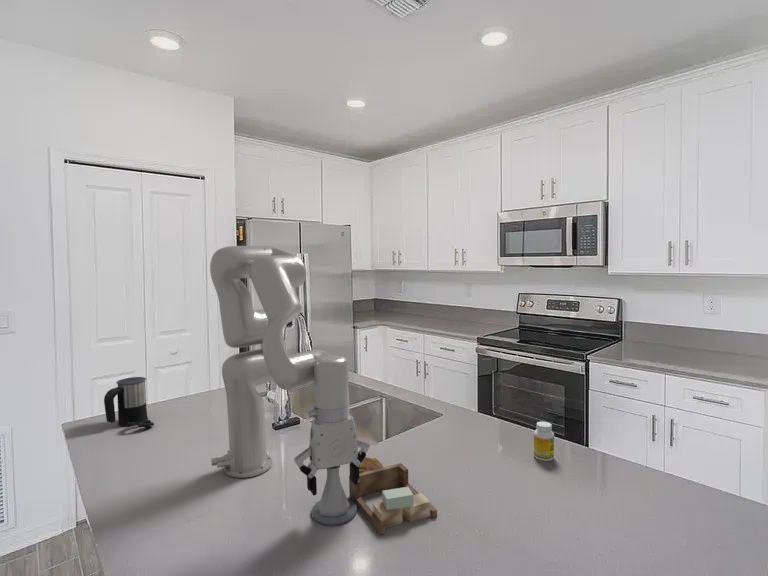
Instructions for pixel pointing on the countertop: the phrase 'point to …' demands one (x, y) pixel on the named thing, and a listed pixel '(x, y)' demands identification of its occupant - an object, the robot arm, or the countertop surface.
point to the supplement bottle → (544, 441)
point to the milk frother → (128, 403)
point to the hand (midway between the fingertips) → (333, 486)
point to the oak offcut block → (387, 515)
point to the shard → (369, 464)
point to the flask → (333, 495)
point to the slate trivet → (337, 519)
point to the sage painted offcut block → (397, 498)
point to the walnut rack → (378, 482)
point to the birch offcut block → (417, 508)
